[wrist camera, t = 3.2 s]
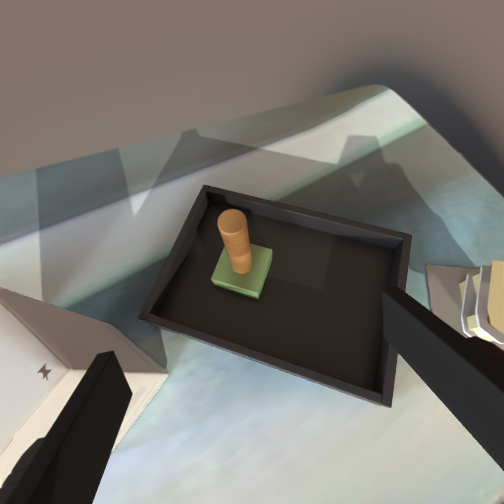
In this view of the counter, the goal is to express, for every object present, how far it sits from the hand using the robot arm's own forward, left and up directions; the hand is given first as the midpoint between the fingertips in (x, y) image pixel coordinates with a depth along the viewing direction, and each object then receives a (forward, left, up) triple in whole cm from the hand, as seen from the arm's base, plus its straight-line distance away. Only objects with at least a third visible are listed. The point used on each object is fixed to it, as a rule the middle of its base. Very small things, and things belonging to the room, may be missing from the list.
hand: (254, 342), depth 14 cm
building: (+19, +11, -16) cm, 27 cm away
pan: (-1, +8, -15) cm, 17 cm away
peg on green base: (-5, +8, -15) cm, 17 cm away
